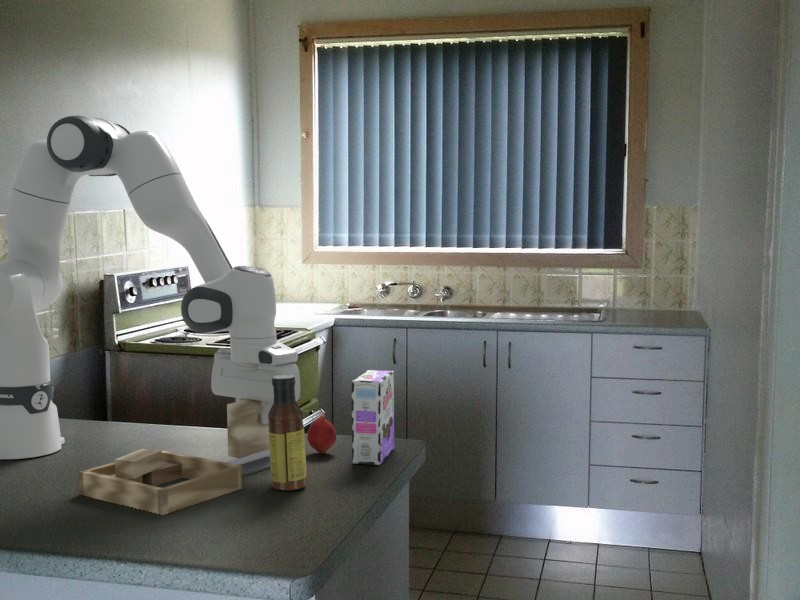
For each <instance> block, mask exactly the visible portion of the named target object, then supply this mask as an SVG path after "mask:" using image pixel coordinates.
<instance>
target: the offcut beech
mask: <svg viewBox="0 0 800 600" xmlns="http://www.w3.org/2000/svg"><path fill="white" fill-rule="evenodd" d="M161 450H162V449H150V448H141V449H138V450H135V451H133V452H130V453H128V454H125V455H122V456H120V457H117V458H115V459H114V462H115V476H117V477H125V478H134V479H135V478H137V477H139V476H142V475H144V474H146V473H149V472H151V471H153V470H155V469H158V468H160V467H162V457H161Z"/></svg>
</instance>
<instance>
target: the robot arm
mask: <svg viewBox="0 0 800 600" xmlns="http://www.w3.org/2000/svg"><path fill="white" fill-rule="evenodd" d="M85 175H88V176H89V177H113V176H115V177H116V176H117V177H118V178H119V179H120V181H121V183H122V185H123V187H124V190H125V192H126V194H127V196H128V198H129V201H130V203H131V205H132V207H133V209H134V211H135V213H136V215H137V216H138V217H139V219H140V220H141V222H142V223H143V225H145V227H147V228H149V229H150V230H152V231H154V232H156V233H159V234H161V235H164V236H166V237H167V238H170V239H172V240H173V241H175V242H177V243H178V244H179V245H181V246H182V248H184V250H185V251H187V253H188V255H189V256H190V258H191V259H192V261H193V263H194V265H195V267H196V269H197V271H198V273H199V274H200V277H201V278H202V280H203V281H204V283H202V284H199V285H196V286H193V287H192V288H190V289H189V290H188V291H186V293H185V294H184V296H183V297H182V300H181V304H180V312H181V317H182V320H183V321H184V323H185V324H186V326H187V327H188V328H189V329H190V330H191V331H193V332H195V333H198V334H204V335H205V334H206V335H207V334H214V333H221V332H224V331H228V333H229V343H230V344H229V345H230V346H229V347H230V348H226V347H220V348H219V349H217V351H216V352H215V353H214V356H213V365H212V370H211V380H210V382H211V384H210V385H211V386H210V387H211V391H212V393H213V394H214V395H215V396H222V397H229V398H234V399H235V402H238V401H242V400H247V399H250V400H257V401H261V406H262V407H264V408H263V410H262V413H261V414H259V415H258V423H259V424H268V423H269V420H268V414H269V411H270V409H271V407H272V405H273V403H274V389H273V385H272V377H273V376H278V375H294V376H295V397H296V399H295V400H296V402H297V403H298V400H299V399H300V397H301V378H300V370H299V367H298V365H297V364H296V363H295V362H297V361H298V359H299V354H298V351H297V349H294V348H292V347H290V346H288V345H286V344H284V343H282V342H281V341H280V340H278V338H277V337H278V336H277V335H278V334H277V330H276V327H275V326H276V325H275V320H276V319H275V318H276V316H277V301H276V300H277V299H276V288H275V282H274V279H273V276H272V274H271V272H269V271H268V270H266V269H265V268H261V267H256V266H249V265H248V266H247V265H237V266H234V267H233V266H232V263H230V260H229V258H228V257H227V255H226V253H225V250H223V248H222V246H221V244H220V242H219V240H218V239H217V236H216V235H215V233H214V231H213V229H212V228H211V226H210V224H209V223H208V222H207V220H206V218H205V217H204V215H203V214H202V212H201V210H200V208H199V206H198V205H197V203H196V201H195V199H194V197H193V195H192V193H191V191H190V189H189V187H188V185H187V183H186V180H185V178H184V177H183V174H182V171H181V170H180V168H179V166H178V164H177V162H176V160H175V158H174V157H173V155H172V154H171V152H170V150H169V149H168V147H167V146H166V144H165V143H164V142H163V140H162V139H161V137H160V136H159V135H157V133H156V132H155V133H154V132H152V131H148V130H139V131H134V132H133V131H132V132H131V131H129V130H128V129H127V128H125V126H123V125H121V124H118V123H115V122H111V121H109V120H107V119H103V118H99V117H87V116H83V115H70V116H65V117H62V118H59V119H58V120H57V121H55V122H54V123H53V125H51V127H50V128H49V131H48V133H47V136H46V139H38V140H35V141H33V142H32V143H31V144H30V145H28V148H27V150H26V151H25V153H24V155H23V158H22V160H21V162H20V164H19V167H18V170H17V172H16V176H15V179H14V181H13V182H14V183H13V185H12V189H11V192H10V197H9V200H8V201H9V202H8V205H7V209H6V213H5V216H4V220H3V229H4V231H5V233H6V238H7V257H6V260H5V261H0V460H21V459H29V458H37V457H42V456H47V455H50V454H54V453H56V452H58V451H59V450H61V449H62V445H63V444H65V443H66V440H65V437H63V436H61V427H60V420H59V415H58V407H57V405H56V403H54V402H53V399H54V392H55V391H54V386H53V384H54V383H53V380H52V379H51V367H50V366H51V363H50V361H51V360H50V345H49V341H48V339H47V338H45V336H44V334H43V333H42V329H41V327H40V324H39V320H38V317H37V312H39V311H43V310H45V309H47V308H49V306H51V305H52V304H54V302H56V301H57V300H58V299H59V298H60V297H61V294H62V293H63V290H64V280H63V276H62V274H61V272H60V263H61V262H60V261H61V242H62V237H63V233H64V228H65V224H66V220H67V217H68V212H69V209H70V205H71V202H72V198H73V197H72V196H73V193H74V189H75V187H76V184H77V182H78V181H79V179H80V178H81V177H83V176H85Z"/></svg>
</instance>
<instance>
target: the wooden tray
mask: <svg viewBox="0 0 800 600" xmlns="http://www.w3.org/2000/svg"><path fill="white" fill-rule="evenodd" d="M160 450H161V457H162V461H165V460H168V461H173V462H178V463H182V478H181V479H186V478H187V480H184V481H182V482H178V483H175V484H172V485H169V486H165V487H161V486H152V485H147V484H143V483H138V482H134V481H130V480H125V479H121V478H116V477H112V476H111V475H114V474H115V461H114V462H110V463H107V464H103V465H100V466H99V465H98V466H95V467H92V468H88V469H84V470H81V471H78V485H79V486H78V487H79V488H78V491H79V496H85V497H87V498H92V499H95V500H100V501H104V502H108V503H111V504H112V503H113V504H114V505H115V504H116V505H120V506H123V505H124V507H127V506H129V507H128V508H131V507H133V508H132V509H135V508H136V510H139V509H141V510H140V511H143V510H145V511H144V512H147V511H148V513H151V512H152V513H151V514H155V513H156V515H159V514H160V515H159V516H166V515H168V513H169V514H171V512H172V513H174V511H175V512H177V511H180V510H183V509H186V508H189V507H192V506H195V505H198V504H201V503H203V501H204V502H206V501H209V500H212V499H216V498H218V497H220V496H223V495H224V496H225V495H226V494H227V495H228V494H229V493H232V492H236V491H238V490H241V489H244V479H243V477H244V476H243V467H242V466H241V465H236V464H230V463H225V462H226V461H220V460H214V459H209V458H204V457H199V456H193V455H188V454H184V453H177V452H173V451H168V450H162V449H160ZM200 502H201V503H200ZM194 504H195V505H194ZM191 505H192V506H191ZM188 506H189V507H188ZM185 507H186V508H185ZM179 509H180V510H179ZM176 510H177V511H176ZM165 514H166V515H165Z"/></svg>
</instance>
